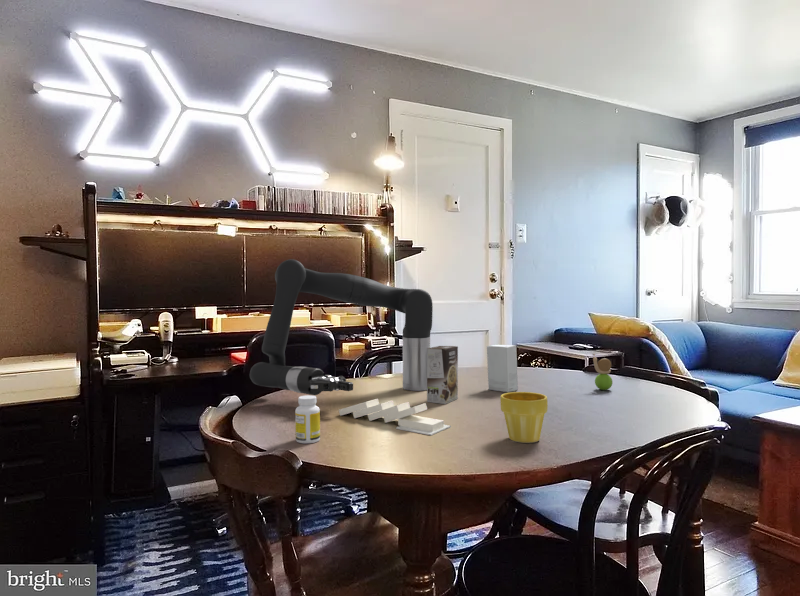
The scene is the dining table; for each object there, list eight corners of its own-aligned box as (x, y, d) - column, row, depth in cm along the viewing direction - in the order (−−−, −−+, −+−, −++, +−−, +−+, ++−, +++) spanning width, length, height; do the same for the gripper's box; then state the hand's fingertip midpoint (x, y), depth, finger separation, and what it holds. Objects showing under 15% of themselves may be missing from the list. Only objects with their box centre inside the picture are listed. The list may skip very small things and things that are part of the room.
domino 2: (352, 412, 141) (380, 403, 135) (364, 408, 145) (392, 400, 139) (354, 418, 141) (382, 409, 135) (366, 414, 145) (394, 406, 139)
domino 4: (383, 416, 135) (414, 406, 129) (395, 412, 139) (425, 402, 133) (385, 422, 135) (416, 413, 129) (397, 418, 139) (427, 409, 133)
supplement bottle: (320, 436, 124) (319, 394, 124) (320, 443, 118) (319, 399, 118) (296, 437, 123) (295, 394, 123) (294, 444, 118) (294, 400, 117)
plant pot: (490, 437, 123) (490, 394, 122) (521, 430, 129) (522, 389, 128) (525, 448, 114) (525, 402, 114) (557, 440, 120) (557, 396, 120)
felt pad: (395, 428, 130) (395, 427, 130) (416, 421, 138) (416, 419, 138) (430, 435, 124) (430, 434, 124) (450, 427, 132) (450, 425, 132)
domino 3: (367, 414, 138) (396, 405, 132) (379, 411, 142) (408, 401, 136) (369, 421, 138) (398, 411, 132) (381, 417, 142) (410, 407, 136)
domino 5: (398, 418, 132) (432, 424, 126) (409, 414, 136) (443, 420, 130) (398, 425, 132) (432, 431, 126) (409, 421, 136) (443, 427, 131)
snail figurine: (589, 388, 179) (589, 352, 179) (607, 388, 180) (607, 352, 180) (596, 391, 174) (596, 354, 174) (615, 391, 175) (615, 354, 174)
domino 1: (338, 409, 144) (365, 401, 138) (350, 406, 148) (377, 398, 142) (340, 415, 144) (367, 407, 138) (352, 412, 148) (379, 404, 142)
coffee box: (446, 404, 156) (446, 349, 156) (426, 402, 160) (426, 347, 159) (458, 398, 164) (458, 345, 164) (439, 396, 168) (439, 344, 167)
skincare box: (518, 390, 177) (518, 345, 176) (507, 393, 172) (507, 346, 172) (497, 387, 183) (497, 343, 182) (486, 389, 179) (486, 344, 178)
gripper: (288, 370, 149) (334, 376, 139) (321, 364, 160) (367, 369, 149) (288, 397, 149) (334, 405, 139) (321, 389, 160) (367, 396, 150)
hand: (351, 386), depth 144 cm, fingers closed
